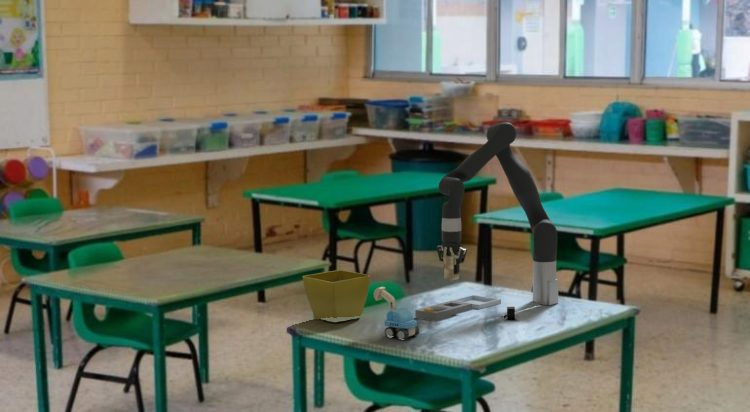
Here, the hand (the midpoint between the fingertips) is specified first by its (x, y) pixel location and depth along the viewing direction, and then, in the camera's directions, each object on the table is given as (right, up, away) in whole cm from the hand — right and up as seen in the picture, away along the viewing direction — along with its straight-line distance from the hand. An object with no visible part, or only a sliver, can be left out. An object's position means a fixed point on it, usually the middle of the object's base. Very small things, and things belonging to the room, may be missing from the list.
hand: (451, 273), depth 484 cm
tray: (+10, -14, +13) cm, 21 cm away
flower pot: (-44, -17, -6) cm, 48 cm away
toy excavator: (-22, -21, -36) cm, 47 cm away
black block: (+22, -17, -10) cm, 29 cm away
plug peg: (0, -2, 0) cm, 2 cm away
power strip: (-3, -16, -2) cm, 16 cm away
